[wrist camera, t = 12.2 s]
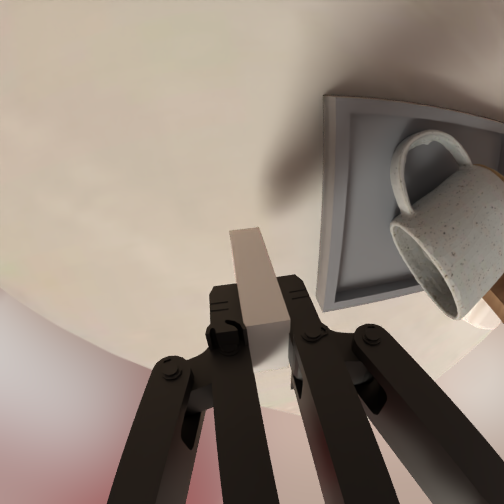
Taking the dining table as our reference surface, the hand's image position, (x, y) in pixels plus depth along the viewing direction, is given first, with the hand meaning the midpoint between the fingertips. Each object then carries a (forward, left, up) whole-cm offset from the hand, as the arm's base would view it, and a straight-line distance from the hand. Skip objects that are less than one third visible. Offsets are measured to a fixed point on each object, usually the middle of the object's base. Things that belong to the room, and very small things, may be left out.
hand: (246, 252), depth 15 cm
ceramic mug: (-1, +13, -3) cm, 13 cm away
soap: (+14, +30, -4) cm, 34 cm away
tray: (0, +14, -3) cm, 14 cm away
